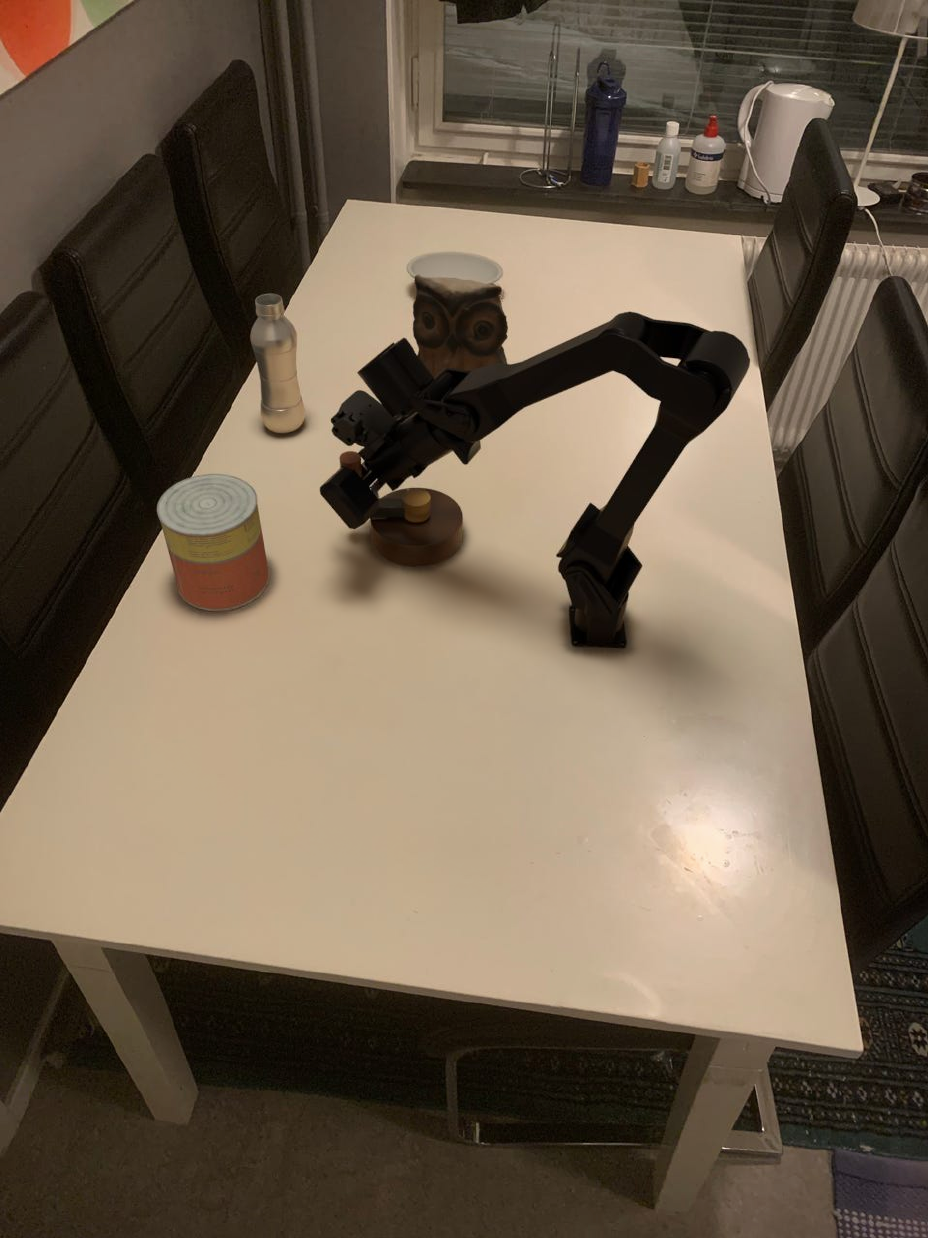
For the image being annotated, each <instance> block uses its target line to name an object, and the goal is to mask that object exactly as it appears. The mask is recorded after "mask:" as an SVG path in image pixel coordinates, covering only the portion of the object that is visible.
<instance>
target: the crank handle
mask: <svg viewBox="0 0 928 1238" xmlns="http://www.w3.org/2000/svg"><path fill="white" fill-rule="evenodd" d="M361 464H362V458H361V456H360V455H359V454H358V452H357V451H353V450H347V451H343V452H342V453H341V454H340V455H339V469H340V468H341V467H342V466H346V467H349V468H352V469H354V470H355V471H356V472H357V473H358V475H359V476H360V475H361V477H362V467H361ZM430 506H431V497H430V495H429V493H428V492H426V491H425V490H422V489H411V490H408V491H406V492H405V493H404V494H403V496H402V498H382V497H379V509H378V510H377V511H376V512H375V513H374V514H373V515H372V516H371V517H404V518H405V519H406V520H408V521H410V522H423V521H425V520H427V519H428V518H429V517H430Z"/></svg>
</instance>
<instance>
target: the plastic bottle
mask: <svg viewBox="0 0 928 1238" xmlns="http://www.w3.org/2000/svg"><path fill="white" fill-rule="evenodd" d="M254 304H255V315H256V316H257V319H256V320H255V321H254V323H253V325H252V327H251V331H250V335H249V338H250V344H251V348H252V350H253V354H254V357H255V362H256V364H257V370H258V373H259V381H260V417H261V420H262V423H263V425H264V426H265V427H266V428H267V430H269V431H271V432H273V433H276V434H288V433H291V432H295V431H296V430H298V429H299V428H300V427H301V426H302V425H303V423H304V421H305V417H306V415H305V414H306V407H305V403H304V399H303V397H302V395H301V389H300V385H299V379H298V370H297V369H298V368H297V367H298V366H297V351H298V350H297V349H298V333H297V330H296V328H295V325H294V323H292V321H290V319H288V318H287V316H285V315H284V314H285V313H286V311H285V307H284V302H283V297H282V296H281V295H279V294H276V293H265V294H264V293H263V294H261V295H259V296H257V297H256V298H255V302H254Z"/></svg>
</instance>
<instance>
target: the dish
mask: <svg viewBox="0 0 928 1238" xmlns="http://www.w3.org/2000/svg"><path fill="white" fill-rule="evenodd" d="M405 269H406V272H407V273H408V275H409V276H410V277H411V278H413V279H415V276H416V275H420V276H421V277H432V278H438V277H442V278H458V279H461V280H473V281H476V282H480V283H484V284H490V285H494V283H497V282H498V281H500V280H501V279H502V278H503V275H504V269H503V267H502V265H500V264H499V263H498V262H496V261H495V260H493V259H491V258H488V257H486V256H483V255H480V254H476V253H471V252H465V251H464V252H463V251H434V252H429V253H424V254H420V255H418V256H414V257H413V258H411V259H410V260H409V261H408V262H407V264H406V268H405Z"/></svg>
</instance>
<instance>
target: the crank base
mask: <svg viewBox="0 0 928 1238" xmlns="http://www.w3.org/2000/svg"><path fill="white" fill-rule="evenodd" d="M411 489H422V490H425V491H426V492H428V493H429V495H430V497H431V506H430V517H429V518H428V519H427V520H425V521H423V522H410V521H408V520H406V519H405V518H404V517H370V518H369V527H370V528H369V529H370V539H371V544H372V546H373V548H374V550H375V551H376V552H377V554H379V555H380V556H381V557H382V558H384V559H385V560H387V561H389V562H391V563H393V564H397V565H400V566H405V567H414V568H415V567H416V568H417V567H418V568H419V567H429V566H433V565H437V564H440V563H442V562H444V561H447V560H448V559H449V558H451V557H452V556H454V555H455V554H456V553H457V551H458V550H459V548H460V547H461V545H462V541H463V528H464V527H463V526H464V525H463V524H464V515H463V510H462V508H461V506H460V504H459V503H458V502H457V501H456V500H455V499H454V498H452V497H451V496H450V495H448V494H446V493H444V492H442V491H439V490H437V489H432V488H428V487H407V488H401V489H396V490H394V491H391V492H388V493H387V494H385V495H383V496H381V498H402V496H403V494H404V493H405V492H406V491H408V490H411Z"/></svg>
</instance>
